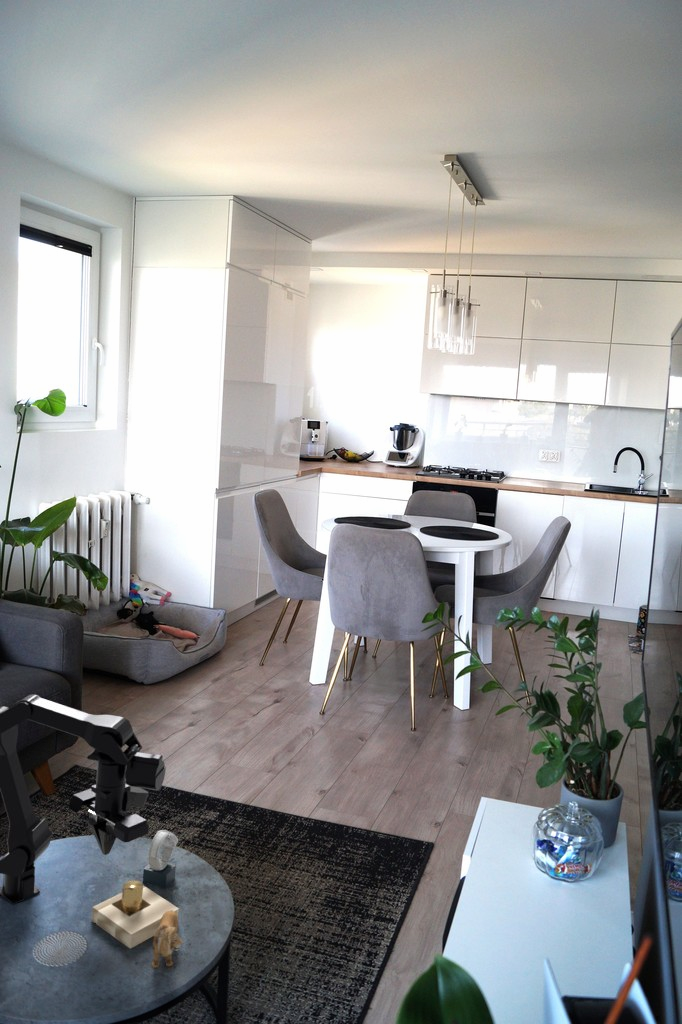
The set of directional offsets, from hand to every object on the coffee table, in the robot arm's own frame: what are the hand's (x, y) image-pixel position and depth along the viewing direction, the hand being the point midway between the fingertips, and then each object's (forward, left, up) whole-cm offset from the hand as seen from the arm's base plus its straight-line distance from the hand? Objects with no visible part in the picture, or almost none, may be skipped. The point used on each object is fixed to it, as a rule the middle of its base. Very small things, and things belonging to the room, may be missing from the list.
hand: (105, 853), depth 175 cm
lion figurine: (+20, 0, -12) cm, 24 cm away
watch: (0, +15, -12) cm, 19 cm away
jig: (+8, +2, -12) cm, 15 cm away
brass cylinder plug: (+6, +2, -12) cm, 14 cm away
